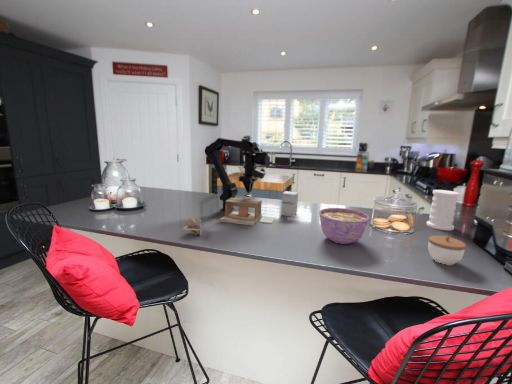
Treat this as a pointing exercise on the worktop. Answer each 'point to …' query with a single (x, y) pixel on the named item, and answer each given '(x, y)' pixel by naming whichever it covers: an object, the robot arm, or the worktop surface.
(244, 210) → the block
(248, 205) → the brown wooden u-shape
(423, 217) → the worktop surface
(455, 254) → the lidded jar
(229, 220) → the board
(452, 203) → the decorative container
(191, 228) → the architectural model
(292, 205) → the supplement box
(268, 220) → the tile
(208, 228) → the worktop surface
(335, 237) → the bowl of food
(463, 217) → the worktop surface
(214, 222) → the worktop surface
